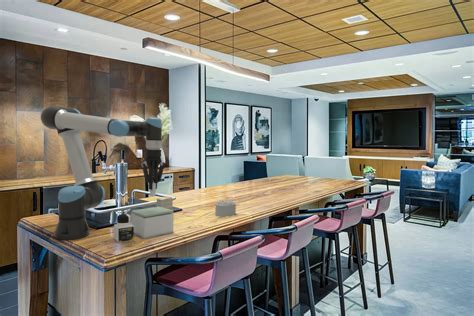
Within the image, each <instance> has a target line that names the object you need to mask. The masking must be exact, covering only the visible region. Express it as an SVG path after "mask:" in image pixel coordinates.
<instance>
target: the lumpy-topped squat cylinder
mask: <svg viewBox="0 0 474 316" xmlns="http://www.w3.org/2000/svg"><path fill="white" fill-rule="evenodd" d="M236 207H237V204H236V203H235V202H234V201H233V200H228V199H226V200H222V199H221V200H219V201H218V202H216V203H215V211H214V212H215V217H218V216H219V217H220V218H224V217H225V218H227V217H226V216H229V217H233V216H232V215H234V216H236V215H235V214H237V212H236V209H237V208H236ZM219 217H218V218H219Z"/></svg>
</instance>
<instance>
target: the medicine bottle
mask: <svg viewBox="0 0 474 316" xmlns="http://www.w3.org/2000/svg"><path fill="white" fill-rule="evenodd" d="M134 236H135V234H134V226H133V225H132V224H131V214H128V213H122V214H118V215H117V216H116V224H114V225H113V239H114V240H115V241H116V242H117V243H119V244H120V243H127V242H132V241H134V240H135V237H134Z"/></svg>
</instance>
